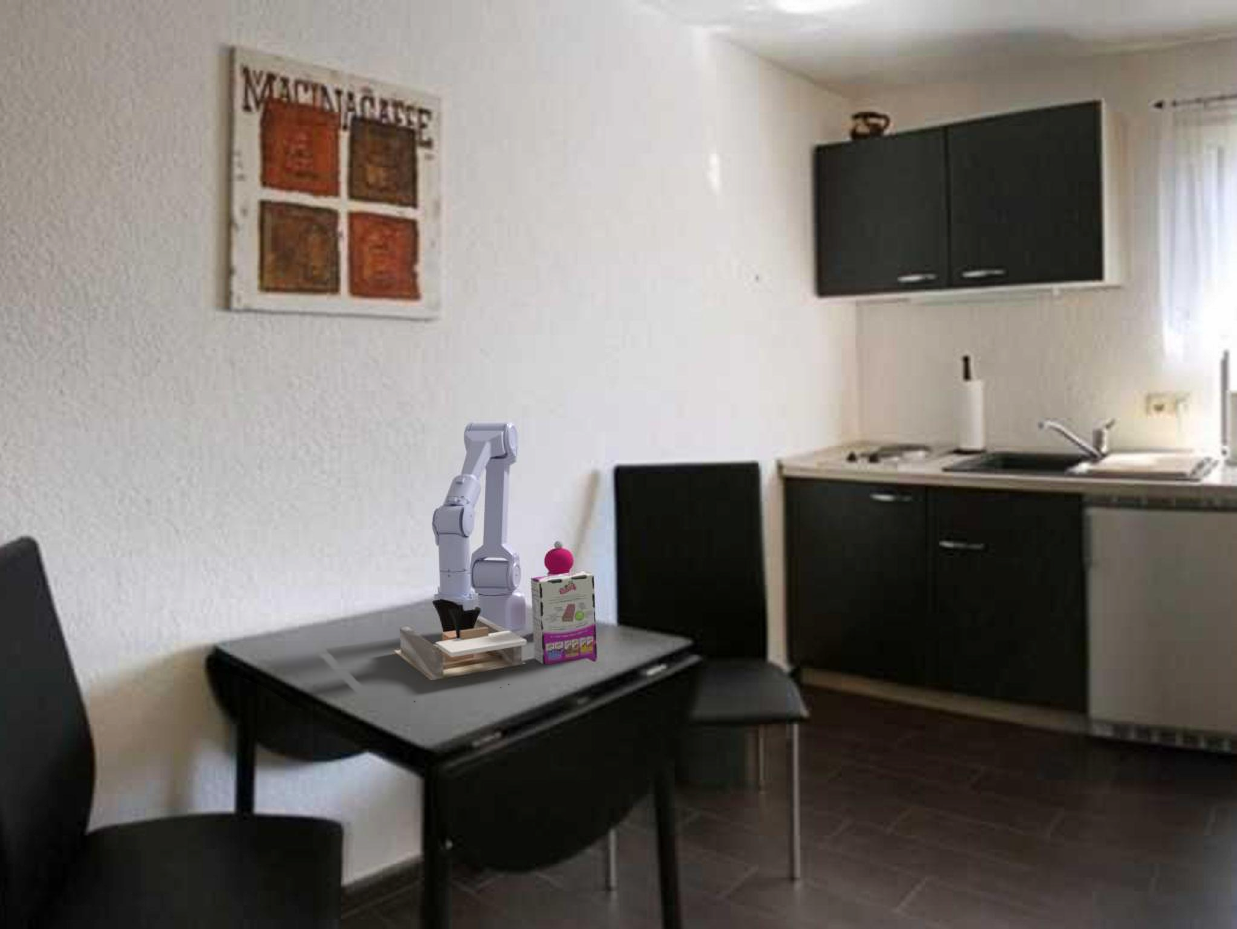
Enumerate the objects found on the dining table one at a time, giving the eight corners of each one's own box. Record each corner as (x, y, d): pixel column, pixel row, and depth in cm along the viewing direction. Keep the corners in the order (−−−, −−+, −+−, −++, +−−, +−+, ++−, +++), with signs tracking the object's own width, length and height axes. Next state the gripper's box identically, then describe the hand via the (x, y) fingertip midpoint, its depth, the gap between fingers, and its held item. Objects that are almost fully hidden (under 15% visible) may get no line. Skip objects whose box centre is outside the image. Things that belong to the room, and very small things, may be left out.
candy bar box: (586, 654, 189) (584, 569, 187) (597, 660, 184) (595, 574, 183) (532, 663, 184) (529, 576, 182) (543, 669, 179) (540, 581, 178)
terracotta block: (465, 652, 188) (464, 629, 188) (473, 657, 184) (472, 634, 184) (442, 655, 186) (441, 632, 186) (450, 661, 182) (449, 637, 182)
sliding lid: (508, 634, 181) (508, 623, 181) (526, 644, 174) (526, 632, 174) (435, 646, 174) (435, 634, 174) (451, 657, 167) (450, 644, 167)
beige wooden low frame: (481, 641, 199) (480, 613, 199) (526, 668, 180) (525, 637, 180) (394, 655, 190) (392, 626, 190) (431, 685, 171) (430, 652, 171)
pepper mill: (543, 633, 205) (540, 538, 203) (577, 632, 205) (575, 537, 203) (543, 642, 197) (540, 544, 196) (579, 641, 198) (576, 543, 196)
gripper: (421, 565, 188) (424, 635, 189) (447, 578, 175) (450, 652, 177) (456, 561, 191) (459, 630, 193) (484, 573, 179) (487, 646, 180)
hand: (457, 640), depth 185 cm, fingers open, 7 cm apart
